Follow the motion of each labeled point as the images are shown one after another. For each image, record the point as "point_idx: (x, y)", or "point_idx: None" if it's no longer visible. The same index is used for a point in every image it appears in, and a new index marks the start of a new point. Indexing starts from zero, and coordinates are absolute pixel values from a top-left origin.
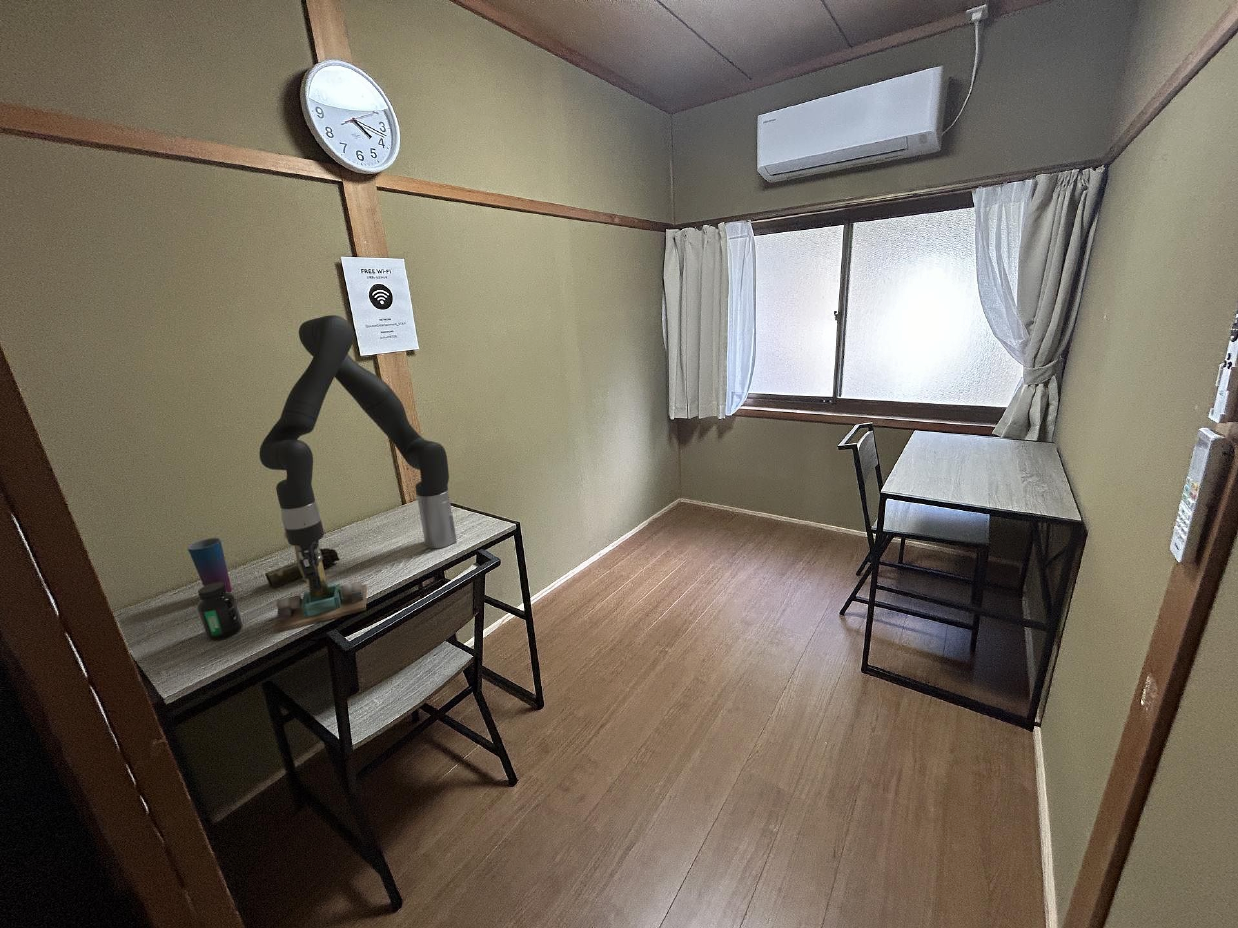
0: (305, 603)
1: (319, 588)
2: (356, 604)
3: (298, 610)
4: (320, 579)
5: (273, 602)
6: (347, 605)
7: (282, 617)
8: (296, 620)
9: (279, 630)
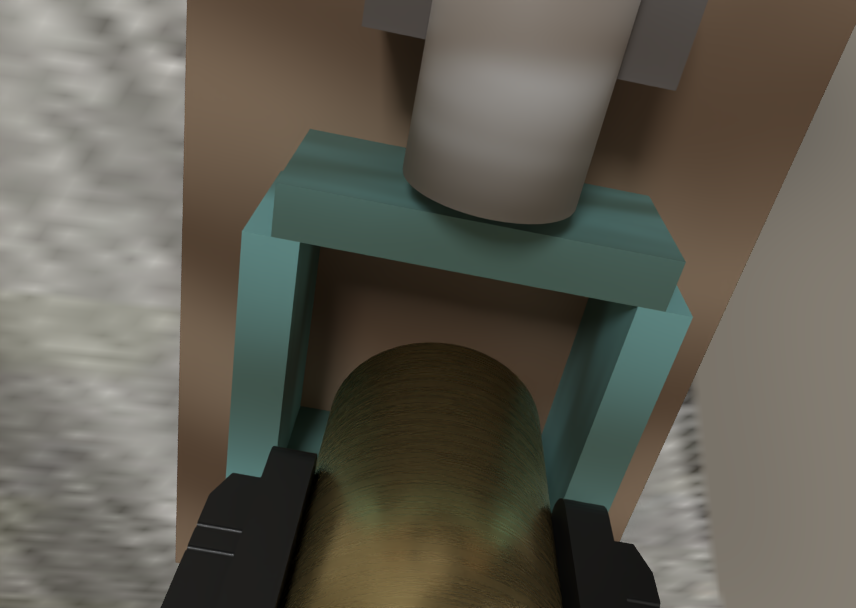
0: None
1: (631, 544)
2: (732, 21)
3: None
4: (561, 601)
5: (67, 578)
6: (663, 123)
7: None
8: None
9: None
